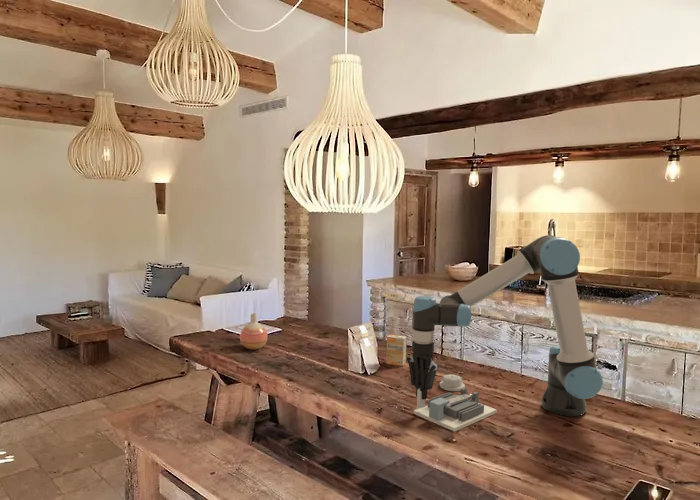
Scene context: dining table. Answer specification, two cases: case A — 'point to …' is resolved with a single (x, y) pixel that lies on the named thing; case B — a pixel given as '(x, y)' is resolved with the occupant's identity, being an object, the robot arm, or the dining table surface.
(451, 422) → the mechanical assembly board
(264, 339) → the vase
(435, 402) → the blue-grey block
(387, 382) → the dining table surface
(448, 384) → the beige hat
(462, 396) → the strap
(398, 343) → the supplement box
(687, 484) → the dining table surface
